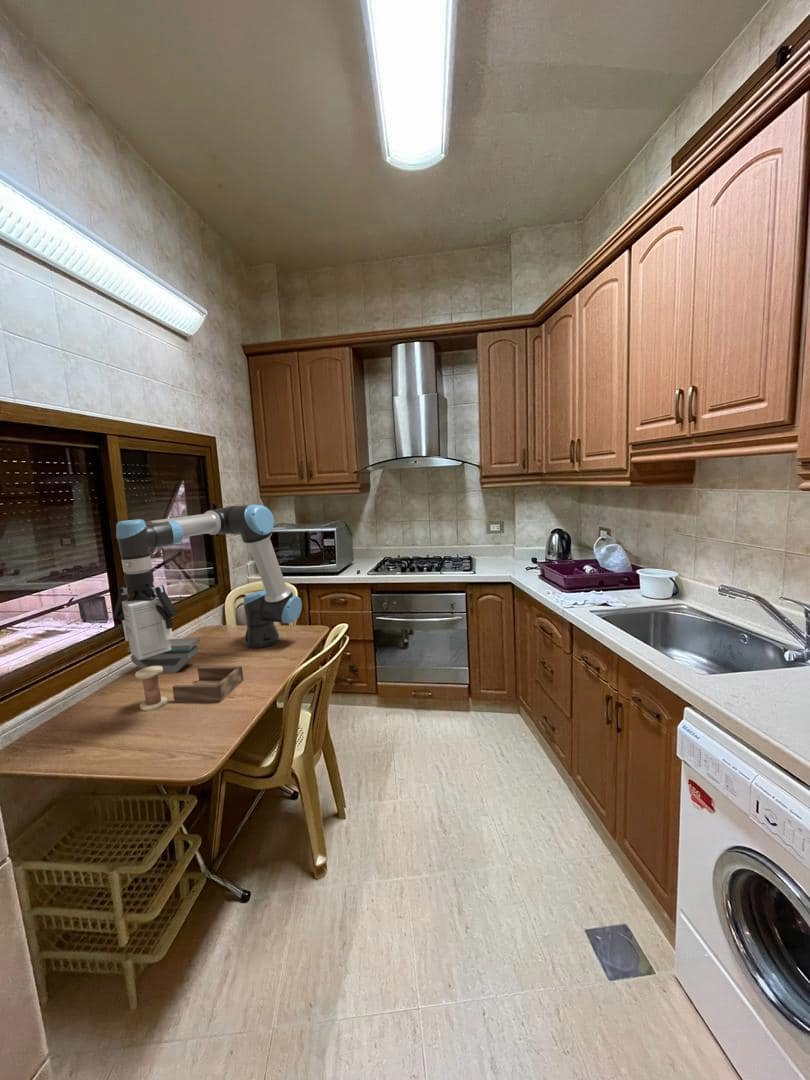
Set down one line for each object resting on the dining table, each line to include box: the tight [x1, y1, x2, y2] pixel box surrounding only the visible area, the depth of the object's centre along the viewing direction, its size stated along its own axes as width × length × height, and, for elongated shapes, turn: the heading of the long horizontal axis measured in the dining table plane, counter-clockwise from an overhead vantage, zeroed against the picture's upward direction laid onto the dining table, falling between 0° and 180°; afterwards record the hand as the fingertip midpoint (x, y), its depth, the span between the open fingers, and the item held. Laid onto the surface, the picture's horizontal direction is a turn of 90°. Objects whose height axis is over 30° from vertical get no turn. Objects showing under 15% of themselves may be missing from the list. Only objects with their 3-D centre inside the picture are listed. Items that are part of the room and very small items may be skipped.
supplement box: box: [122, 594, 171, 660], centre depth 138 cm, size 10×9×17 cm
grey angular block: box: [126, 637, 201, 674], centre depth 179 cm, size 25×8×11 cm, turn 88°
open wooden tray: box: [171, 666, 244, 703], centre depth 157 cm, size 16×16×5 cm
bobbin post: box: [134, 666, 169, 712], centre depth 149 cm, size 8×8×12 cm
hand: (149, 639), depth 138 cm, fingers closed on supplement box, 12 cm apart
